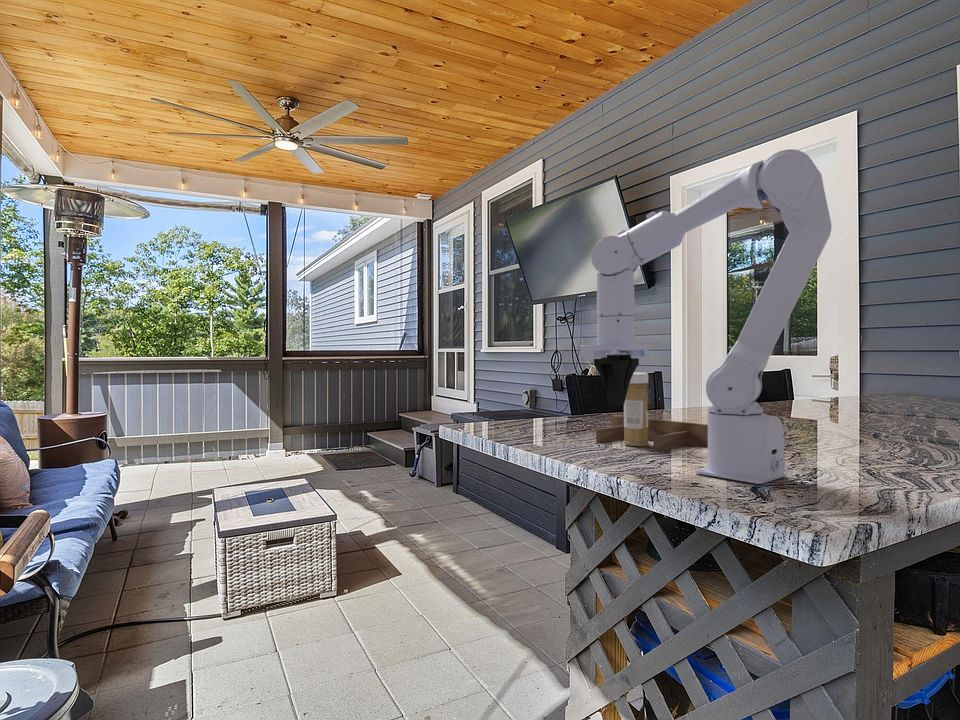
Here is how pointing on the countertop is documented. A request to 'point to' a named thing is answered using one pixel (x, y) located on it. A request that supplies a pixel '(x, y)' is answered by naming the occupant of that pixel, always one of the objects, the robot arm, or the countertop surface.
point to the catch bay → (660, 433)
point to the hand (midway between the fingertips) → (616, 404)
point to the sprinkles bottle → (636, 411)
